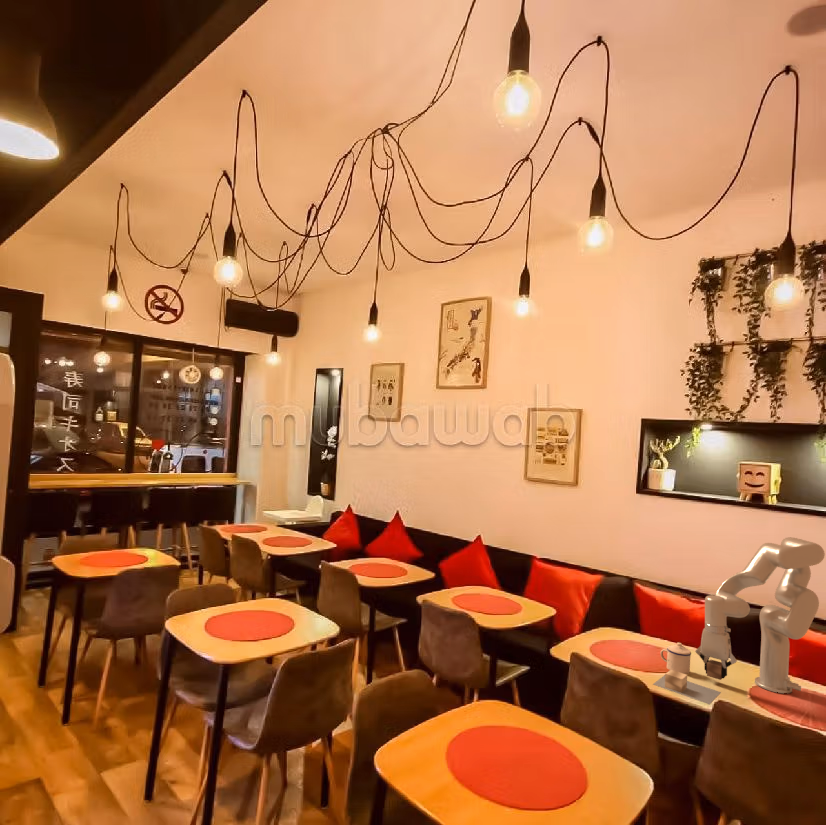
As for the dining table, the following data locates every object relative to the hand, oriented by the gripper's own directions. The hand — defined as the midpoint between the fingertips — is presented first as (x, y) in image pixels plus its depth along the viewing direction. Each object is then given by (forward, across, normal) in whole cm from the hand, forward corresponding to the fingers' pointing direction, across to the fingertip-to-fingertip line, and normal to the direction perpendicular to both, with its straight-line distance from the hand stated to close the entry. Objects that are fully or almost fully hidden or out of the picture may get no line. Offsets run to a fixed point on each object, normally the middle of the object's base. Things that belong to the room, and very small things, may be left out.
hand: (715, 674), depth 221 cm
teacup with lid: (+4, +16, -2) cm, 17 cm away
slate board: (+3, +6, +15) cm, 17 cm away
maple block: (+2, +9, +18) cm, 20 cm away
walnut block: (+1, 0, 0) cm, 1 cm away
